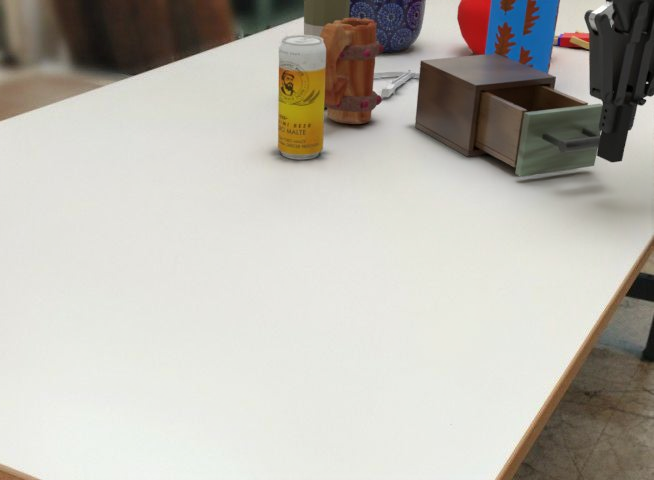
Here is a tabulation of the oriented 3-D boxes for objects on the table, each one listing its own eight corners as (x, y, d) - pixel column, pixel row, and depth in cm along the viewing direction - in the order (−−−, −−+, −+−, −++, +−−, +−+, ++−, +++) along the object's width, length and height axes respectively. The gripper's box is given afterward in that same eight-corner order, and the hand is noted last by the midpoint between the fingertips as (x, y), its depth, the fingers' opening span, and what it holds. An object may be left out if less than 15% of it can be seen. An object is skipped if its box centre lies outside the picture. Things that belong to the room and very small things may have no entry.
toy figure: (544, 36, 184) (608, 37, 179) (550, 29, 189) (612, 30, 185) (543, 49, 185) (607, 51, 181) (549, 42, 190) (610, 43, 186)
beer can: (269, 155, 126) (269, 40, 118) (293, 143, 131) (295, 32, 123) (307, 163, 123) (310, 46, 116) (330, 152, 128) (335, 38, 120)
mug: (340, 109, 146) (344, 7, 138) (387, 117, 142) (395, 13, 134) (293, 133, 135) (295, 24, 127) (343, 142, 131) (348, 31, 123)
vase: (500, 40, 189) (514, -64, 179) (572, 58, 176) (590, -52, 166) (433, 51, 180) (443, -57, 170) (503, 71, 167) (518, -45, 157)
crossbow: (374, 77, 166) (375, 65, 165) (444, 84, 162) (445, 72, 161) (347, 93, 152) (348, 80, 151) (423, 102, 148) (424, 88, 148)
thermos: (508, 74, 165) (529, -82, 152) (559, 87, 158) (585, -76, 145) (468, 84, 159) (486, -78, 146) (518, 98, 152) (542, -72, 139)
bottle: (298, 109, 145) (303, -107, 130) (303, 97, 151) (308, -111, 135) (343, 111, 144) (353, -106, 129) (347, 99, 150) (357, -110, 135)
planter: (433, 43, 186) (441, -38, 178) (403, 60, 173) (410, -26, 165) (357, 34, 192) (361, -44, 184) (322, 50, 180) (325, -33, 172)
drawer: (619, 178, 117) (632, 116, 113) (543, 189, 113) (554, 126, 109) (532, 136, 132) (541, 80, 128) (463, 145, 128) (469, 87, 124)
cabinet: (545, 146, 131) (556, 76, 125) (467, 157, 126) (476, 85, 121) (487, 118, 142) (495, 53, 137) (414, 127, 138) (420, 60, 133)
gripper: (677, -68, 103) (631, 143, 115) (580, -64, 98) (543, 154, 111) (729, -59, 97) (675, 162, 109) (628, -55, 92) (584, 175, 105)
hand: (609, 158), depth 110 cm, fingers closed
